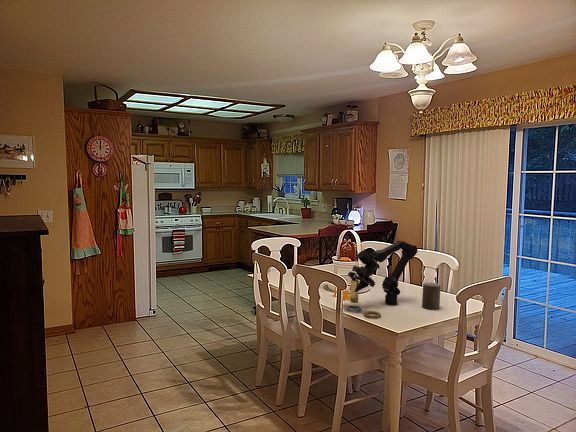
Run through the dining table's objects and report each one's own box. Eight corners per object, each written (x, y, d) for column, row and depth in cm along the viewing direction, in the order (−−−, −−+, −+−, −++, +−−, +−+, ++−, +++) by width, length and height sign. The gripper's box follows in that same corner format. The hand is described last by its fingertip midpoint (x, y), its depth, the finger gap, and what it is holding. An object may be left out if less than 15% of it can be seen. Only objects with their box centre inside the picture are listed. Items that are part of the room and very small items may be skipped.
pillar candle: (428, 310, 244) (429, 284, 243) (418, 305, 254) (419, 280, 252) (443, 309, 247) (444, 283, 246) (433, 304, 256) (434, 279, 255)
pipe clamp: (350, 300, 264) (350, 290, 264) (344, 301, 263) (344, 290, 262) (340, 295, 275) (340, 285, 275) (334, 296, 273) (334, 286, 273)
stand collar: (380, 314, 237) (380, 311, 236) (381, 319, 228) (381, 316, 228) (364, 313, 238) (364, 310, 238) (364, 318, 229) (364, 315, 229)
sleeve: (359, 301, 244) (360, 280, 244) (355, 303, 241) (356, 282, 240) (352, 300, 247) (353, 279, 246) (348, 302, 244) (349, 281, 243)
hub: (362, 307, 248) (362, 305, 248) (363, 312, 239) (363, 310, 239) (345, 306, 250) (345, 304, 250) (344, 311, 240) (344, 309, 240)
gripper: (350, 257, 252) (334, 278, 248) (371, 263, 236) (354, 285, 232) (361, 269, 257) (345, 290, 252) (382, 275, 240) (366, 297, 236)
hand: (352, 290), depth 243 cm, fingers closed on sleeve, 4 cm apart
